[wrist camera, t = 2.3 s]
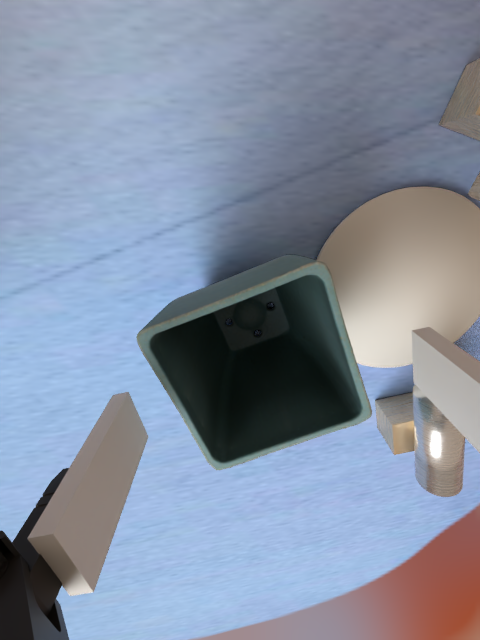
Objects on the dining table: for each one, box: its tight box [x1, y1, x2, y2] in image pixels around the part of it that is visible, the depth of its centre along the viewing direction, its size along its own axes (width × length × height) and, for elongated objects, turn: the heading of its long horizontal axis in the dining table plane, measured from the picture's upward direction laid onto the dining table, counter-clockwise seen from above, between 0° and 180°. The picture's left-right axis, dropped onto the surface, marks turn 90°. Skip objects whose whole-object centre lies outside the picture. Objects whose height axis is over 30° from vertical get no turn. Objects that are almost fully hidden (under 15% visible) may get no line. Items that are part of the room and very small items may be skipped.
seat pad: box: [316, 187, 480, 368], centre depth 22 cm, size 13×13×1 cm
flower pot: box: [137, 255, 372, 470], centre depth 19 cm, size 9×9×9 cm
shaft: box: [375, 385, 465, 497], centre depth 24 cm, size 8×5×6 cm, turn 14°
